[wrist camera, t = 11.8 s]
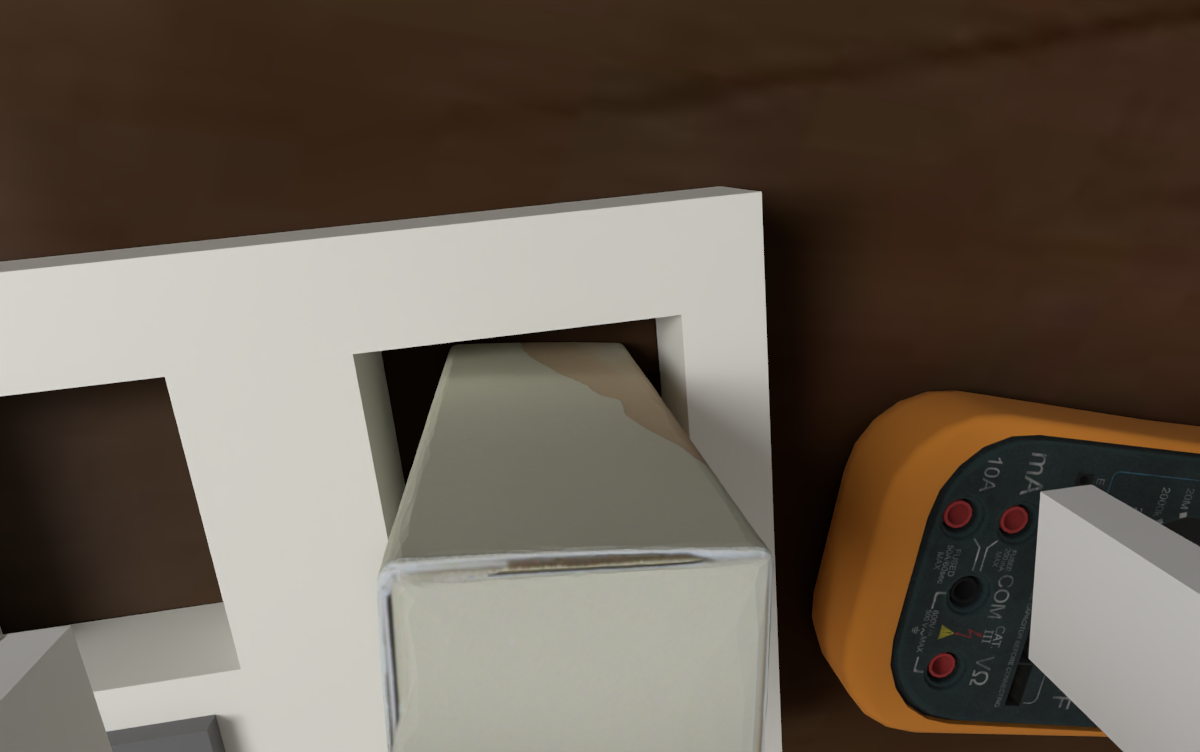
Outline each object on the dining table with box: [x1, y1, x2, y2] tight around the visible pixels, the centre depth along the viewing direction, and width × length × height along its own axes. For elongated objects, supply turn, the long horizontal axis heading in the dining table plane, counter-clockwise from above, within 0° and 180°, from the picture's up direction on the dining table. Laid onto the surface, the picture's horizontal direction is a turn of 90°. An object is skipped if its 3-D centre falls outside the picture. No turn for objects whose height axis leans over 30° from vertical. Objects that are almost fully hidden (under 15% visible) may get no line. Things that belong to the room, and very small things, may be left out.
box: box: [377, 342, 774, 752], centre depth 14 cm, size 5×4×11 cm
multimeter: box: [812, 390, 1200, 737], centre depth 21 cm, size 9×18×4 cm, turn 81°
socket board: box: [0, 186, 782, 752], centre depth 17 cm, size 20×14×4 cm
